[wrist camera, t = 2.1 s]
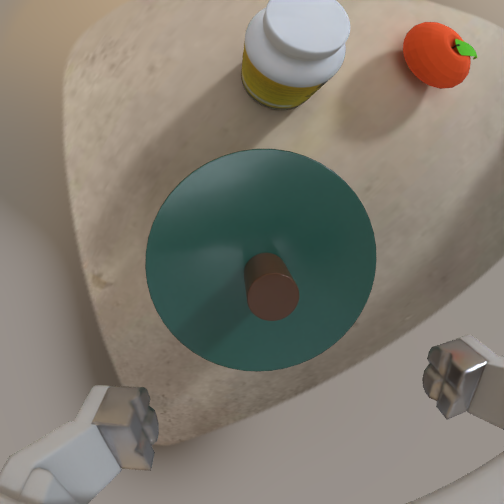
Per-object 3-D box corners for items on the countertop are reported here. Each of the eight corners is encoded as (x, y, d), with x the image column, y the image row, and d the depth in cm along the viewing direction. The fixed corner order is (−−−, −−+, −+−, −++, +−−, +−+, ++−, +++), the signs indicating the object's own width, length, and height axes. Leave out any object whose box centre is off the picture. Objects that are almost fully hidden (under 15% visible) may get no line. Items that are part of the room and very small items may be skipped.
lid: (366, 147, 17) (406, 142, 12) (362, 346, 20) (389, 384, 16) (136, 164, 16) (105, 162, 12) (171, 367, 20) (160, 413, 15)
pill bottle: (288, 125, 25) (330, 93, 13) (225, 85, 23) (222, 26, 12) (327, 72, 23) (383, 20, 12) (267, 34, 22) (289, -39, 11)
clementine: (440, 40, 22) (478, 22, 16) (456, 96, 24) (499, 87, 17) (383, 31, 22) (418, 4, 15) (399, 92, 24) (442, 76, 17)
